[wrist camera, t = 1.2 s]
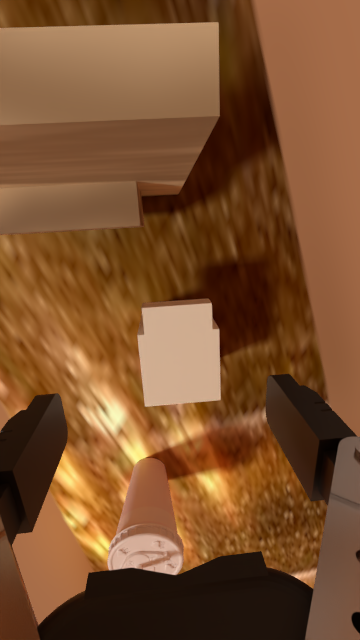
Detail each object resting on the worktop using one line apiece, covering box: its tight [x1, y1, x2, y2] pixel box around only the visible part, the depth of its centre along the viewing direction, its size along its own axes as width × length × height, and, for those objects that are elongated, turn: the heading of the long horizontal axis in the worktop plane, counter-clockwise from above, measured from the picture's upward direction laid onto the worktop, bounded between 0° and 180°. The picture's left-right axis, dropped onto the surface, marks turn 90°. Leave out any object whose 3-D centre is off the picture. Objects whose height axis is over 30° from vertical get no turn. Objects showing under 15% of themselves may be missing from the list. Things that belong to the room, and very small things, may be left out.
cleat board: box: [0, 22, 220, 235], centre depth 16 cm, size 8×16×18 cm, turn 93°
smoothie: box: [108, 458, 184, 575], centre depth 27 cm, size 6×6×14 cm
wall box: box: [138, 298, 221, 407], centre depth 25 cm, size 9×6×7 cm
